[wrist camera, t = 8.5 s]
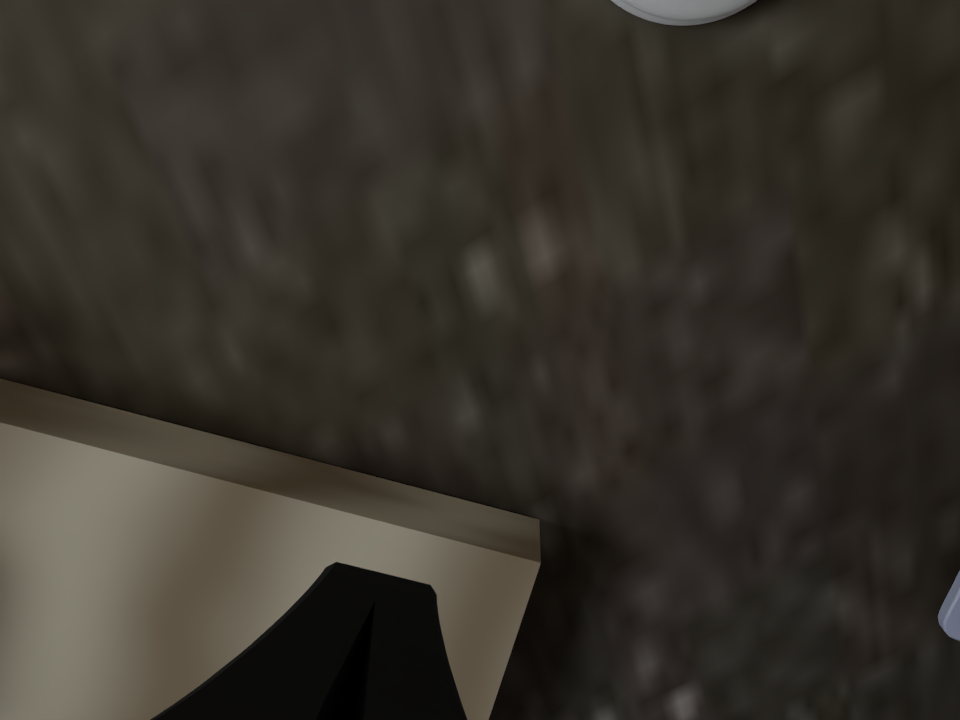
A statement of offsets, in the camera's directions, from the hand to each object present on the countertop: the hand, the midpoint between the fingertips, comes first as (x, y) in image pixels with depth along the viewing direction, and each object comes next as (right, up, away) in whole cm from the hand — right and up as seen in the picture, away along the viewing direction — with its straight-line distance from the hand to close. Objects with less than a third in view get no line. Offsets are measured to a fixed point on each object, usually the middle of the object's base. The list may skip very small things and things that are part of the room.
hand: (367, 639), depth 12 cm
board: (-5, -4, +12) cm, 14 cm away
